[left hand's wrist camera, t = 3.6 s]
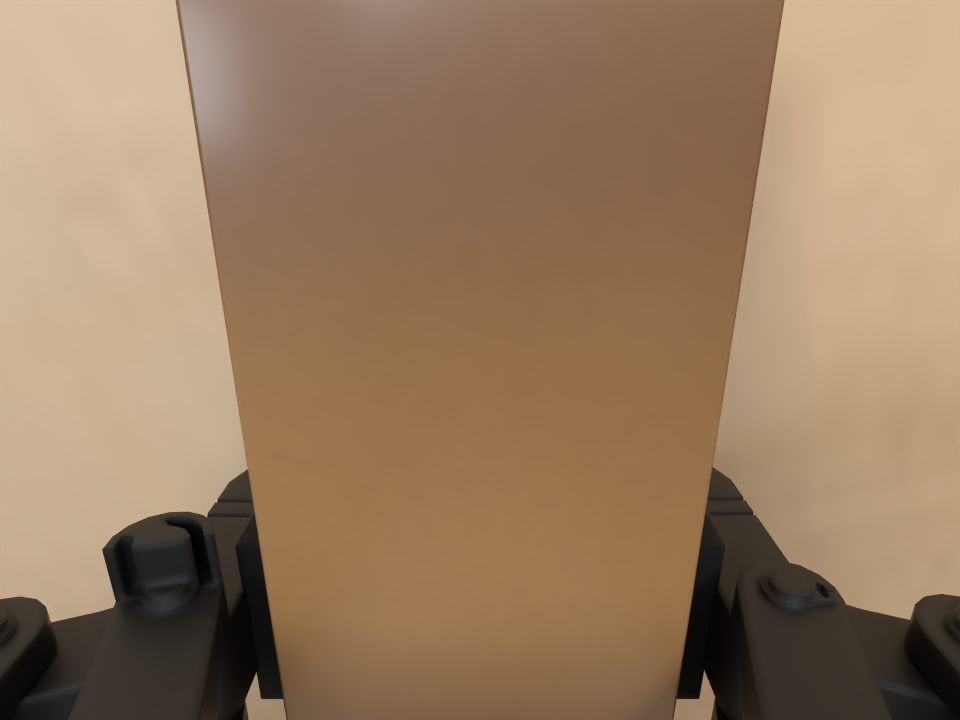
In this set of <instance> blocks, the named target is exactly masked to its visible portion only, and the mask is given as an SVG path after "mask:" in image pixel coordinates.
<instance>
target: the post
mask: <svg viewBox="0 0 960 720" xmlns="http://www.w3.org/2000/svg"><path fill="white" fill-rule="evenodd" d="M176 6H177V12H178V19H179V25H180V32H181V38H182V45H183V51H184V58H185V64H186V71H187V77H188V84H189V90H190V96H191V103H192V109H193V116H194V122H195V129H196V135H197V142H198V148H199V155H200V161H201V168H202V174H203V181H204V187H205V194H206V200H207V207H208V213H209V220H210V226H211V233H212V239H213V246H214V252H215V258H216V265H217V271H218V278H219V284H220V291H221V297H222V304H223V310H224V317H225V323H226V330H227V336H228V343H229V349H230V356H231V362H232V369H233V375H234V382H235V388H236V395H237V401H238V408H239V414H240V420H241V427H242V433H243V440H244V446H245V453H246V459H247V466H248V472H249V479H250V485H251V492H252V498H253V505H254V511H255V518H256V524H257V531H258V537H259V544H260V550H261V557H262V563H263V570H264V576H265V582H266V589H267V595H268V602H269V608H270V615H271V621H272V628H273V634H274V641H275V647H276V654H277V660H278V667H279V673H280V680H281V686H282V693H283V699H284V706H285V712H286V719H287V720H673V718H674V711H675V705H676V698H677V692H678V686H679V679H680V673H681V666H682V660H683V653H684V647H685V640H686V634H687V627H688V621H689V614H690V608H691V601H692V595H693V588H694V582H695V576H696V569H697V563H698V556H699V550H700V543H701V537H702V530H703V524H704V517H705V511H706V504H707V498H708V491H709V485H710V478H711V472H712V465H713V459H714V453H715V446H716V440H717V433H718V427H719V420H720V414H721V407H722V401H723V394H724V388H725V381H726V375H727V368H728V362H729V355H730V349H731V342H732V336H733V330H734V323H735V317H736V310H737V304H738V297H739V291H740V284H741V278H742V271H743V265H744V258H745V252H746V245H747V239H748V232H749V226H750V220H751V213H752V207H753V200H754V194H755V187H756V181H757V174H758V168H759V161H760V155H761V148H762V142H763V135H764V129H765V122H766V116H767V109H768V103H769V97H770V90H771V84H772V77H773V71H774V64H775V58H776V51H777V45H778V38H779V32H780V25H781V19H782V12H783V6H784V0H176Z"/></svg>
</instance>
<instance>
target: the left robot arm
mask: <svg viewBox="0 0 960 720" xmlns="http://www.w3.org/2000/svg"><path fill="white" fill-rule="evenodd" d="M102 551H103V555H104V558H105V562H106V566H107V570H108V573H109V577H110V581H111V585H112V588H113V592H114V596H115V600H116V603H115V605H114V608H111V609H107V610H104V611H100V612H96V613H92V614H87V615H83V616H78V617H74V618H69V619H65V620H60V621H56V622H51V621H50V618H49V615H48V612H47V608H46V607H45V606H44V605H43V604H42V603H41V602H39V601H38V600H37V599H32V598H25V597H14V598H6V599H0V720H248V713H247V707H246V702H245V699H246V696H247V694H248V691H249V689H250V686H251V684H252V682H253V679H254V677H255V674H256V672H257V677H258V683H259V689H260V694H261V699H283V693H282V686H281V680H280V673H279V667H278V660H277V654H276V647H275V641H274V634H273V628H272V621H271V615H270V608H269V602H268V595H267V589H266V582H265V576H264V570H263V563H262V557H261V550H260V544H259V537H258V531H257V524H256V518H255V511H254V505H253V498H252V492H251V485H250V479H249V472H248V470H246V471H245V472H243V473H242V474H240V475H239V476H238V477H236V478H235V479H233V480H232V481H230V482H229V484H228V485H227V487H226V488H225V490H224V491H223V492H222V494H221V495H220V497H219V498H218V502H217V503H215V504H214V505H213V507H212V508H211V510H210V511H209V513H208V517H205V516H204V515H200V514H196V513H192V512H169V513H164V514H160V515H156V516H151V517H148V518H146V519H143V520H141V521H139V522H136V523H134V524H132V525H129V526H128V527H126V528H125V529H123V530H122V531H120V532H119V533H117V534H116V535H115V536H113V537H112V538H111V539H110V541H109V542H108V543H107V544H106V546H105V547H104V548H103V549H102ZM704 670H705V673H706V675H707V678H708V680H709V682H710V685H711V687H712V690H713V692H714V695H715V702H714V707H713V713H712V718H711V720H960V596H952V595H944V594H939V595H932V596H926V597H924V598H922V599H921V600H920V601H919V602H918V603H916V604H915V607H914V610H913V613H912V616H911V619H910V620H907V619H903V618H898V617H894V616H889V615H885V614H880V613H876V612H871V611H867V610H862V609H859V608H855V607H852V606H849V605H846V604H845V602H844V600H843V598H842V597H841V595H840V594H839V593H838V591H837V590H836V588H835V587H834V586H833V585H831V584H830V583H829V582H828V581H826V580H825V579H824V578H823V577H821V576H820V575H819V574H816V573H814V572H812V571H810V570H808V569H806V568H804V567H802V566H800V565H796V564H792V563H789V562H788V561H787V559H786V558H785V556H784V555H783V554H782V552H781V551H780V549H779V548H778V546H777V545H776V544H775V542H774V541H773V539H772V538H771V536H770V535H769V534H768V532H767V531H766V529H765V528H764V526H763V525H762V524H761V522H760V521H759V519H758V518H757V516H756V515H753V511H752V509H751V508H750V506H749V505H748V504H747V502H746V501H743V496H742V495H741V494H740V492H739V491H738V489H737V488H736V486H735V485H734V484H733V482H732V481H731V480H730V479H729V478H727V477H726V476H725V475H723V474H722V473H720V472H719V471H717V470H716V469H714V468H713V467H712V472H711V478H710V485H709V491H708V498H707V504H706V511H705V517H704V524H703V530H702V537H701V543H700V550H699V556H698V563H697V569H696V576H695V582H694V588H693V595H692V601H691V608H690V614H689V621H688V627H687V634H686V640H685V647H684V653H683V660H682V666H681V673H680V679H679V686H678V692H677V698H676V699H699V696H700V691H701V685H702V679H703V673H704Z"/></svg>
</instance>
